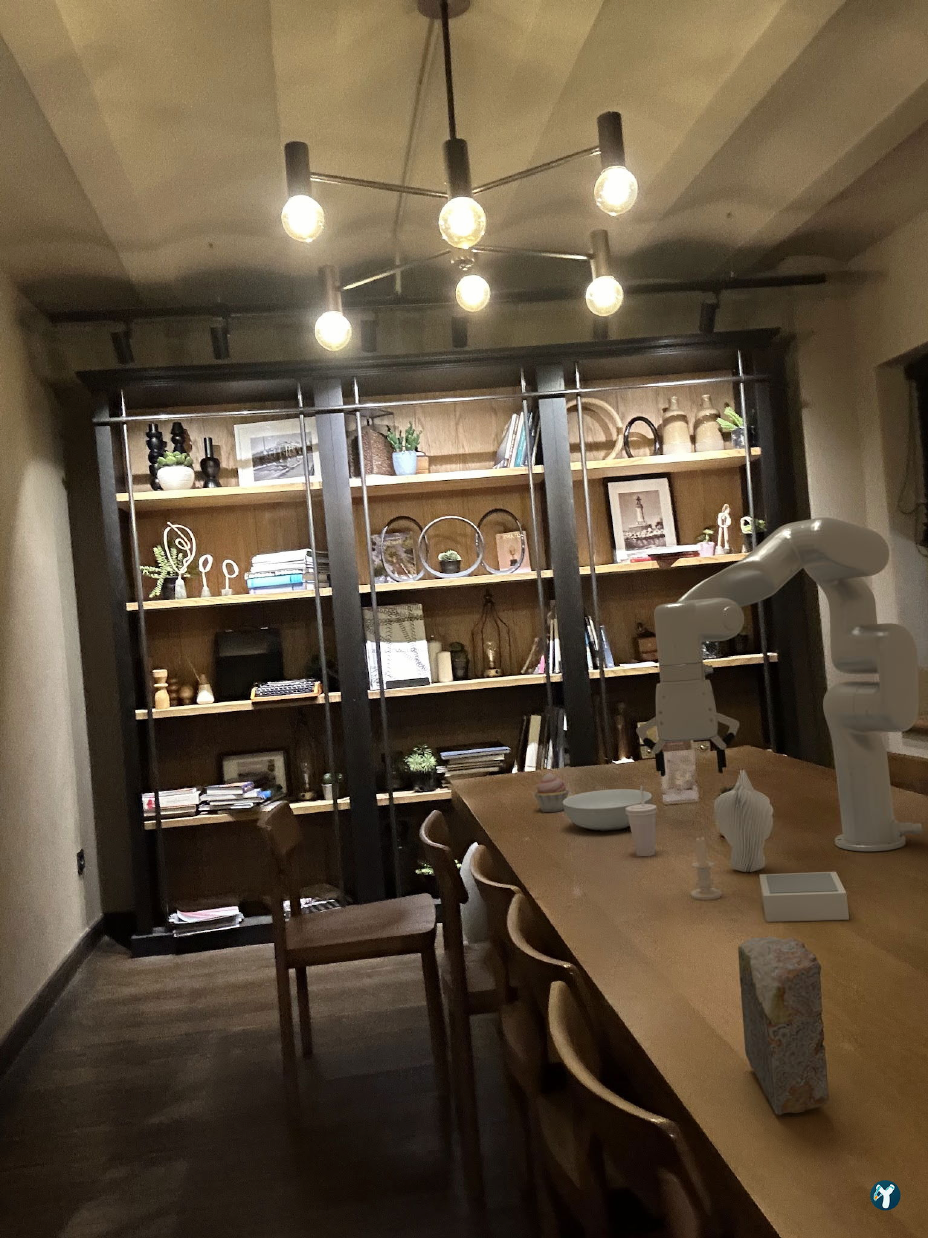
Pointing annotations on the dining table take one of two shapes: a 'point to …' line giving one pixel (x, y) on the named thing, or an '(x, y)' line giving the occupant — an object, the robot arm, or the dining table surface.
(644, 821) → the smoothie
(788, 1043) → the geological specimen
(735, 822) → the shell sculpture
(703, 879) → the candle
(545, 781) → the cupcake
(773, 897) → the plinth
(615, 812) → the serving bowl
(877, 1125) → the dining table surface
